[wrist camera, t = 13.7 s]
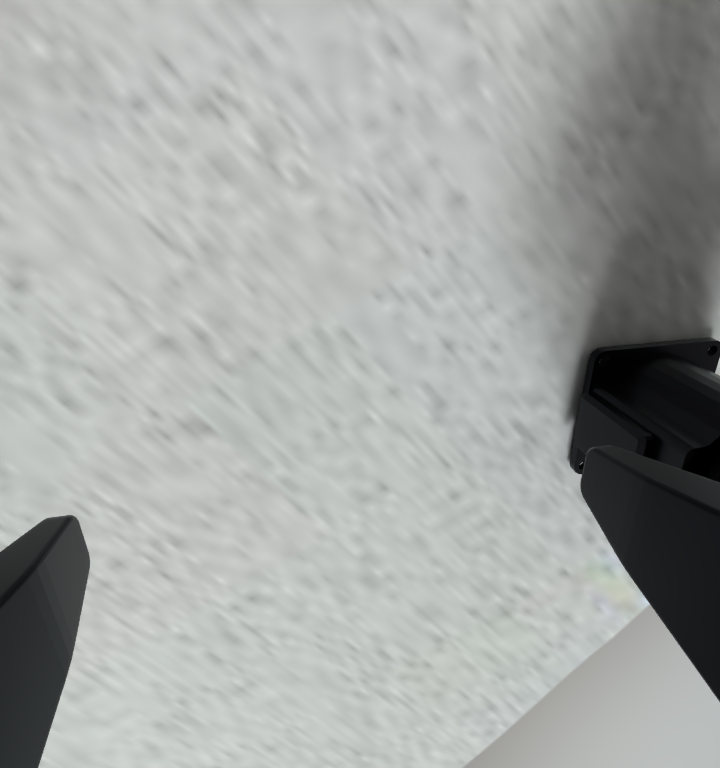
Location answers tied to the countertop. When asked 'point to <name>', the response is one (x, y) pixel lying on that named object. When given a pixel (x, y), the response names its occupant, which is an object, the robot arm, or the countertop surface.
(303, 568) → the countertop surface
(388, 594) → the countertop surface
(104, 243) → the countertop surface
